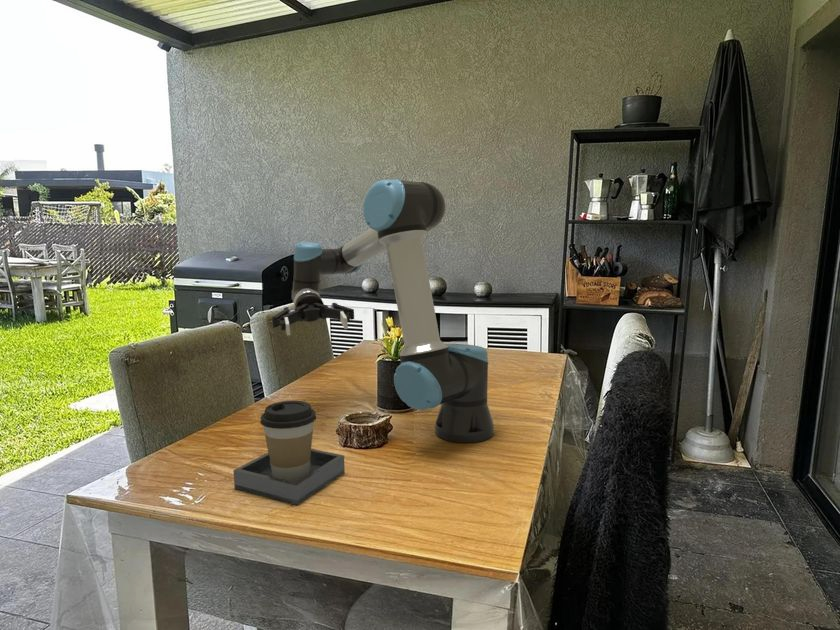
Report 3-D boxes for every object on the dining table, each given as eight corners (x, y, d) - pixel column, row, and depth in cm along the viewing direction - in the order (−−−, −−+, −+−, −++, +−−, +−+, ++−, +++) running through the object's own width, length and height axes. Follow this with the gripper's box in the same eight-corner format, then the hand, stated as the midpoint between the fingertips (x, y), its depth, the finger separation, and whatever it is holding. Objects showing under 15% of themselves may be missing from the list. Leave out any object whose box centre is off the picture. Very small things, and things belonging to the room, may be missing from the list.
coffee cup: (272, 464, 123) (269, 398, 120) (323, 464, 122) (321, 398, 120) (255, 488, 111) (251, 415, 109) (311, 488, 111) (309, 416, 109)
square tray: (344, 473, 120) (344, 455, 120) (296, 505, 106) (296, 485, 106) (286, 460, 127) (285, 443, 127) (234, 488, 113) (233, 470, 113)
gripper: (355, 313, 156) (369, 335, 136) (263, 323, 150) (264, 347, 130) (353, 287, 154) (368, 306, 134) (260, 296, 147) (261, 317, 128)
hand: (317, 326), depth 132 cm, fingers open, 13 cm apart
